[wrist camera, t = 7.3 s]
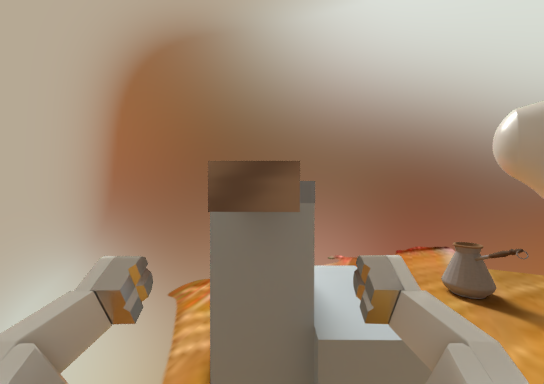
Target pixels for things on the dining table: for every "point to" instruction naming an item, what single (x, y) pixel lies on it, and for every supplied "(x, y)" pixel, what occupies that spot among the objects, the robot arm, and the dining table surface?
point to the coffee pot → (471, 271)
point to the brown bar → (253, 186)
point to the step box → (292, 309)
